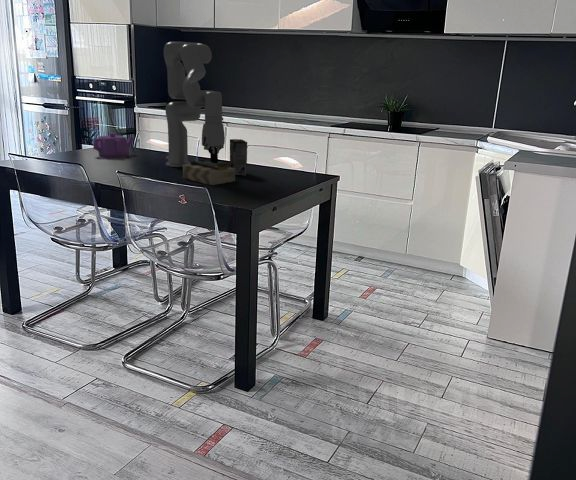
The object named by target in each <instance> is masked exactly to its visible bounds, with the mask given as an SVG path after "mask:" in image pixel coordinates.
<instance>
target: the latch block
mask: <svg viewBox="0 0 576 480" xmlns="http://www.w3.org/2000/svg"><path fill="white" fill-rule="evenodd" d="M200 161H205V159H200ZM189 162H190V164H187V165H183V167H182V178H183V179H185V180H190V181H193V182H197V183H202V184H205V185H208V186H216V185H220V184H226V183H227V182H228V183H233V181H234V182H236V176H235V168H232V167H230V166H228V165H229V164H228V163H225V162H224V164H218V165H199V164H195V162H196V161H194V160H190V161H189Z"/></svg>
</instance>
